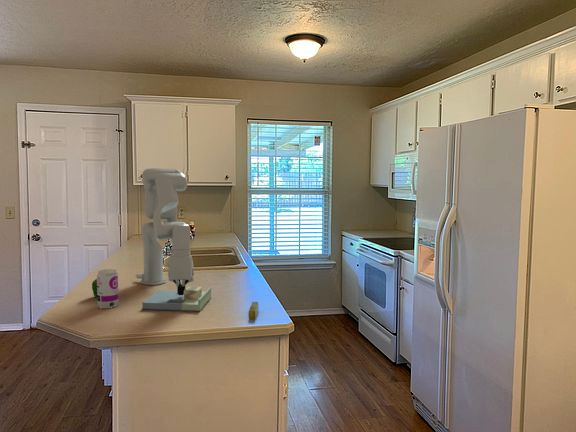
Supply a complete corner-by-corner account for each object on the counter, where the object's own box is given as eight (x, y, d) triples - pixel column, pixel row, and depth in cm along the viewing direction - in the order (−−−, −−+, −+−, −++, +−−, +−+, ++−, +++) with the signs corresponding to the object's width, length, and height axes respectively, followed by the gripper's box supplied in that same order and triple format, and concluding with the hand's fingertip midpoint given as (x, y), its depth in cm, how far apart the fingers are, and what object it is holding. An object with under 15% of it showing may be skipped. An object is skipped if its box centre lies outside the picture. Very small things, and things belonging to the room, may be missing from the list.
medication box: (252, 311, 181) (252, 301, 181) (258, 311, 181) (258, 301, 181) (248, 320, 169) (248, 310, 169) (255, 320, 169) (255, 310, 169)
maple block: (183, 299, 185) (183, 290, 184) (188, 295, 191) (188, 286, 190) (197, 299, 184) (197, 290, 184) (201, 296, 190) (201, 287, 190)
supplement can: (122, 304, 186) (122, 270, 184) (108, 310, 178) (108, 274, 177) (107, 302, 188) (106, 268, 187) (93, 307, 181) (92, 272, 179)
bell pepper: (87, 298, 194) (87, 276, 193) (101, 293, 202) (101, 272, 201) (102, 300, 191) (101, 278, 190) (116, 295, 199) (115, 274, 198)
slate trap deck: (142, 309, 179) (142, 297, 179) (159, 296, 199) (159, 285, 199) (199, 311, 178) (199, 299, 178) (211, 298, 198) (211, 287, 197)
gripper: (161, 253, 183) (161, 296, 185) (195, 254, 182) (195, 297, 184) (167, 250, 191) (167, 291, 192) (200, 251, 190) (200, 292, 191)
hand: (181, 294), depth 188 cm, fingers closed
